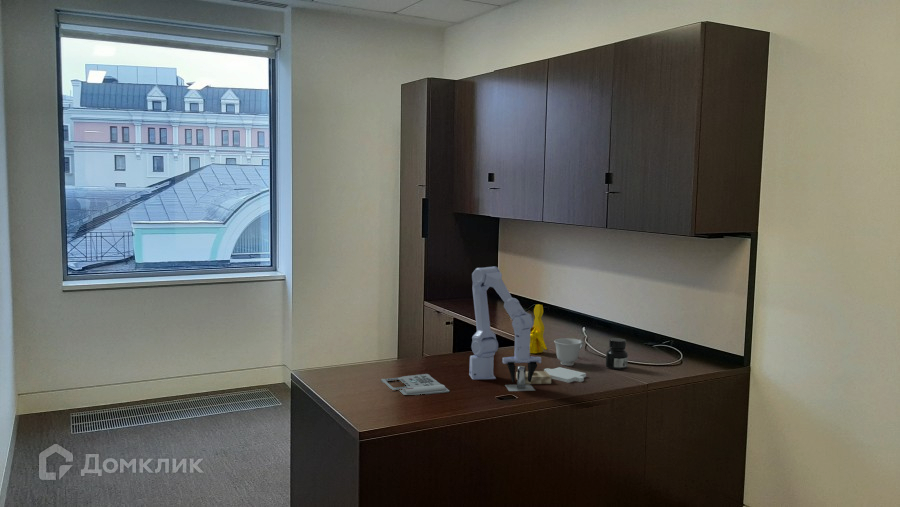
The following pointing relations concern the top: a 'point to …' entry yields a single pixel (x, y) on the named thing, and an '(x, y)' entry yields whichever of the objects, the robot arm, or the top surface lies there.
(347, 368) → the top surface
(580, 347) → the teacup
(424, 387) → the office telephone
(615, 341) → the ink bottle
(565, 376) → the mounting plate
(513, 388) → the mat
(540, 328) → the figure statuette
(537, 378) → the hole block
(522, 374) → the peg
